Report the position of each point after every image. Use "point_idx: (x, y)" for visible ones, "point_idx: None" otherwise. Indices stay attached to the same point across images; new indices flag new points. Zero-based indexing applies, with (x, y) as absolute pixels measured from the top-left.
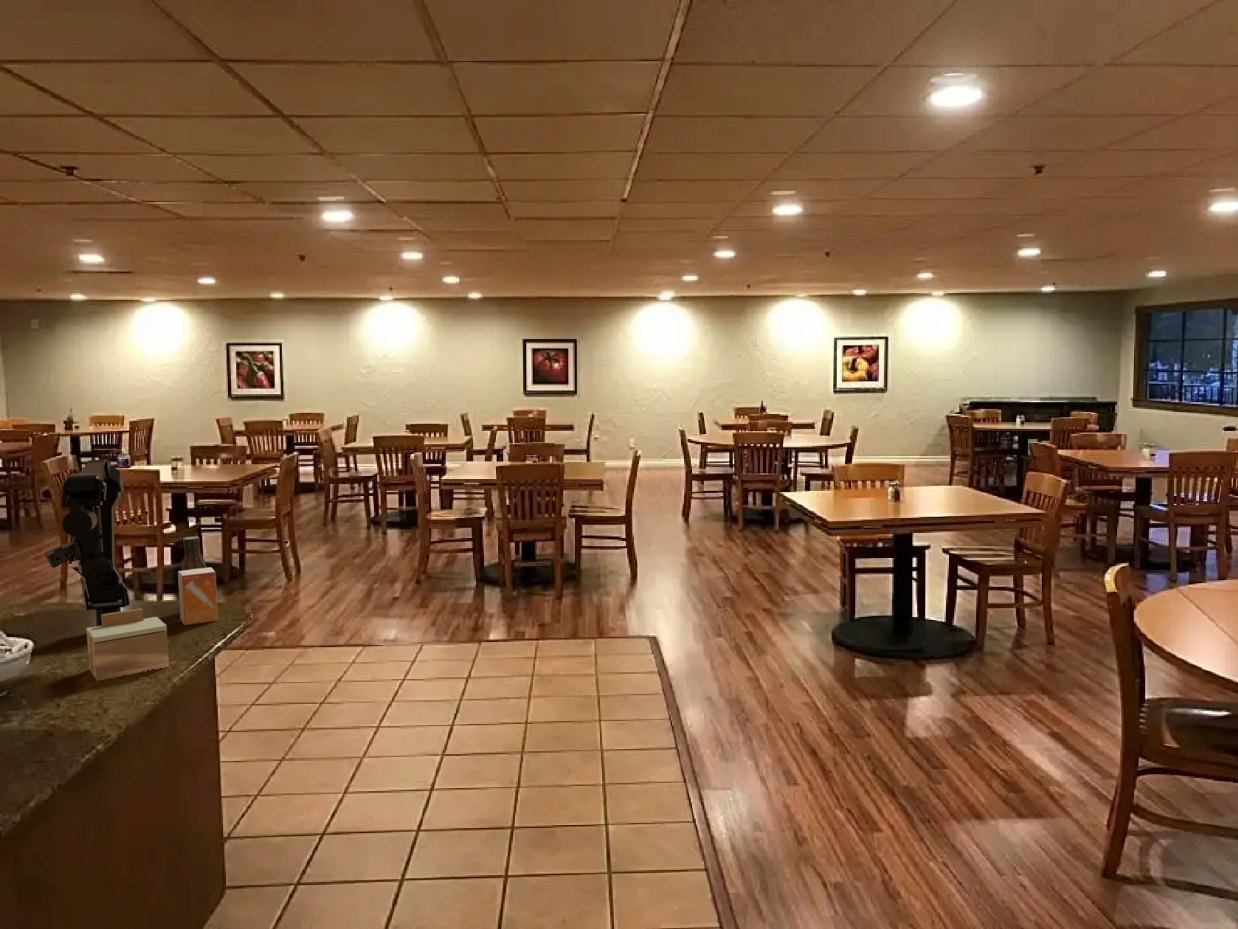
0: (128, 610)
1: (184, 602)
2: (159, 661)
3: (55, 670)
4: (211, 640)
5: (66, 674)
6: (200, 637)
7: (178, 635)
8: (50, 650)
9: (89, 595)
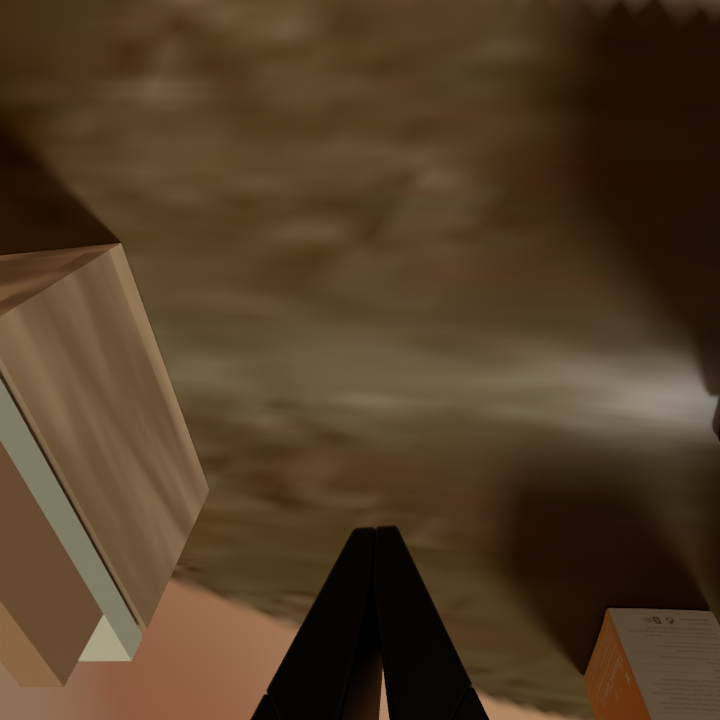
0: (15, 638)
1: (647, 717)
2: None
3: (177, 69)
4: None
5: (76, 129)
6: None
7: (478, 572)
8: (675, 42)
9: (337, 560)
